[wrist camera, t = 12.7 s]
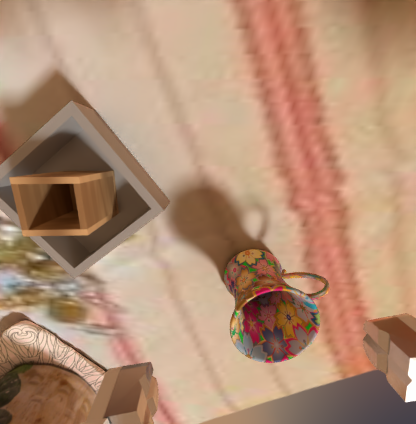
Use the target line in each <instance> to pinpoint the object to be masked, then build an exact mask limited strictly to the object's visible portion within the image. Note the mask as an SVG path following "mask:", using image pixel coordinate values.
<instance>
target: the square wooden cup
mask: <svg viewBox="0 0 416 424" xmlns="http://www.w3.org/2000/svg"><path fill="white" fill-rule="evenodd" d="M9 179H10V183H11V187H12V191H13V196H14V200H15V204H16V208H17V213H18V217H19V221H20V225H21V229H22V234H23V236H74V235H89V234H91V233H92V232H93V231H95V230H96V229H98V228H99V227H100V226H102V225H103V224H105V223H106V222H107V221H109V220H110V219H112V218H113V217H114V216H116V215H117V214H119V210H118V201H117V192H116V183H115V174H114V171H59V172H50V173H42V174H33V175H25V176H16V177H9Z"/></svg>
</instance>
